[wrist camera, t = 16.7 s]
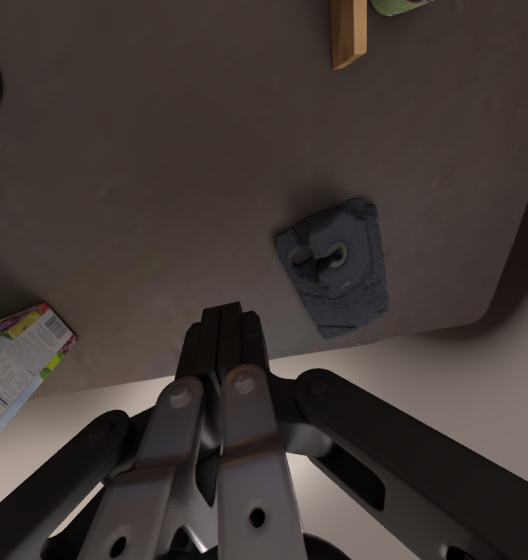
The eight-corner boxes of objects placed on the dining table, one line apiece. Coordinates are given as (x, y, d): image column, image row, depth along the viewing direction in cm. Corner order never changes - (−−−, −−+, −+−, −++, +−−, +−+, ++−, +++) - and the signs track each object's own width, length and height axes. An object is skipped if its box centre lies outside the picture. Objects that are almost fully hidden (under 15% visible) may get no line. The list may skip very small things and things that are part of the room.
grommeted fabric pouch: (309, 339, 48) (316, 358, 44) (268, 229, 37) (273, 240, 33) (391, 310, 47) (407, 327, 42) (373, 189, 36) (391, 195, 32)
